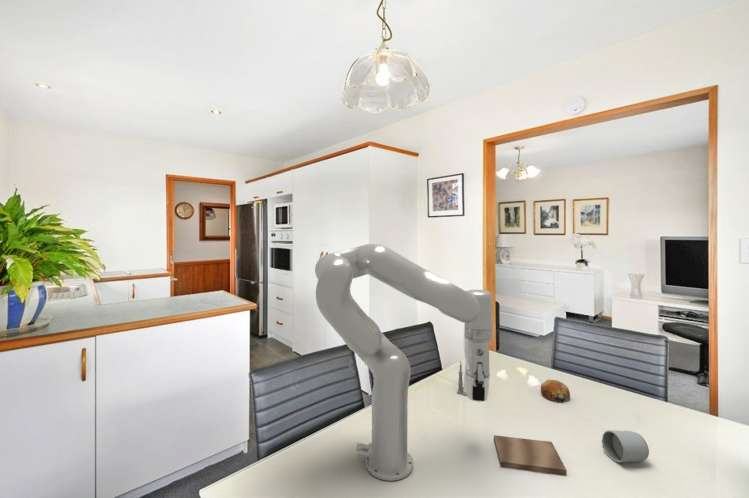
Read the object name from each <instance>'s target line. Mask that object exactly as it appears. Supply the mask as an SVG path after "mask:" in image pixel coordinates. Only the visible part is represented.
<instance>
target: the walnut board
mask: <svg viewBox="0 0 749 498" xmlns="http://www.w3.org/2000/svg"><path fill="white" fill-rule="evenodd" d="M493 443H494V447H495V451H496V455H497V459H498V463H499V466H500V468H504V469H505V468H506V469H513V470H521V471H529V472H535V473H542V474H550V475H557V476H558V475H559V476H566V477H567V471H568V470H567V468H566V467H565V465H564V462H563V461H562V459H561V457H560V455H559V453H558V451H557V449H556V448H555V446H554V445H555V444H553V442H552V441H550V440H549V441H547V440H539V439H530V438H522V437H512V436H504V435H496V434H495V435H493Z"/></svg>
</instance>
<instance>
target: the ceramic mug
mask: <svg viewBox="0 0 749 498" xmlns="http://www.w3.org/2000/svg"><path fill="white" fill-rule="evenodd" d="M601 444H602V446H603V449H604V451H605V453H606V454H607V456H608V457H609V458H610V460H612V462H615V463H617V464H619V463H620V464H621V463H633V462H636V463H637V462H638V463H639V462H643V461H646V460H647V459H648V457H649V455H650V450H649V449H650V448H649V446H648V443H647V442H646V440H645V438H644V437H643V436H642V434H640V433H637V432H635V431H631V430H616V429H615V430H614V429H613V430H611V429H609V430H605V431H604V432H603V434H602V438H601Z"/></svg>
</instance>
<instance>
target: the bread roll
mask: <svg viewBox="0 0 749 498" xmlns="http://www.w3.org/2000/svg"><path fill="white" fill-rule="evenodd" d="M569 389H570V388H569V387H568V386H567V385H566V384H565V383H563V382H561V381H560V380H559V379H558V380H557V379H546V380H545V381H544V382H543V383H542V384H540V393H541V396H542V397H543V398H544V399H546V400H547V401H551V402H556V403H565V402H567V401H568V400H569V399H571V392H570V390H569Z"/></svg>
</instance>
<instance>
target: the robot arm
mask: <svg viewBox="0 0 749 498" xmlns="http://www.w3.org/2000/svg"><path fill="white" fill-rule="evenodd" d="M314 273H315V276H316V278H317V283H316V287H315V300H316V301H315V302H316V306H317V308H318V310H319V312H320V313H321V316H323V318H324V319H325V320H326V322H328V324H329V325H330V326H331V327H332V328H333V330H334V331H335V332H336V333H337V334H338V336H339V337H341V339H342V340H343V342H344V343H345V345H346V346H347V347H348V348H349V349H350V350H351V351H352V352H354V353H355V354H356V355H357V357H359V358H360V360H361V361H362V362H363V363H364V364H365V365H366V366H367V367H368V368H367V369H368V370H370V372H371V374H372V375H373V386H372V393H371V443H363V442H362V443H361V442H357V444H356V449H355V450H356V451H357V452H358V457H363V458H365V457H366V458H365V467H366V470H367V471H368V472H369V474H371V475H372V476H374V477H375V478H377V479H379V480H383V481H386V482H387V481H388V482H390V481H391V482H394V481H398V480H402V479H404V478H406V477H408V476H409V475H410V474H411V472H412V471H413V468H414V459H413V457H412V455H411V454H410V453H409V452H408V414H409V413H408V410H409V409H408V408H409V407H408V405H409V403H408V398H409V397H408V396H409V385H410V380H411V375H412V373H411V369H412V368H411V364H410V361H409V359H408V357H407V356H406V355H405V354H404V352H403V351H402V350H401V349H400V348H398V346H396V345H395V344H393V342H391V341H390V340H389V339H388V337H386V336H385V334H384V333H383V332H382V331H381V329H380V327H379V325H378V324H377V323H376V321H374V320H373V319H372V318H371V317H370V316H368V315H367V313H366V312H365V311H364V310H363V309H362V307H361V306H360V305H359V303H357V301H356V300H355V299H354V298H353V296H352V294H351V285H352V282H353V279H357V278H361V277H363V276H367V275H368V276H370V277H373V278H374V279H377V280H378V281H380V282H382V283H384V284H385V285H388V287H391V288H392V289H395V290H396V291H398V292H400V293H402V294H404V295H406V296H408V297H410V298H411V299H413V300H415V301H419V302H421V303H425V304H427V305H428V306H431V307H433V308H435V309H437V310H438V311H439V312H440V313H442V314H443V315H445V316H447V317H449V318H452V319H454V320H456V321H458V322H461V323H464V325H465V332H464V331H463V338H464V337H465V339H467V340H469V350H468V352H469V366H470V371H471V374H472V375H473V376H474V385H473V395H472V398H473V400H477V401H483V402H485V401H484V400H485V386H484V374H485V376H486V377H489V376H490V377H491V374H490V348H489V347H490V346H489V342H491V341H492V339H493V338H492V337H493V334H492V333H493V328H492V327H493V294H492V293H491V292H490V291H488V290H485V289H469V290H464V289H462V288H461V287H459V286H458V285H455V284H453V283H452V282H450V281H448V280H446V279H444V278H443V277H440V276H438V275H436V273H434V272H431V271H429V270H428V269H425V268H424V267H422V266H420V265H418V264H416V263H415V262H413V261H411V260H410V259H408V258H406V257H405V256H403V255H401V254H399V253H398V252H395V250H392V249H391V248H389V247H387V246H385V245H383V244H377V243H375V244H374V243H368V244H364V245H359V246H356V247H352V248H347V249H344V250H340V251H336V252H332V253H328V254H325V255H323V256H322V257H320V258H319V259H318V260H317V261H316V264H315V268H314ZM475 373H477V374H478V375H475ZM476 377H478V380H477V379H476ZM473 400H472V401H473ZM477 401H476V402H477Z"/></svg>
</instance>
